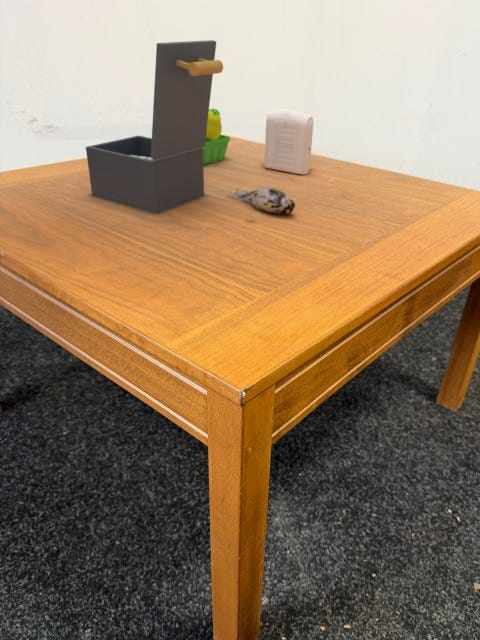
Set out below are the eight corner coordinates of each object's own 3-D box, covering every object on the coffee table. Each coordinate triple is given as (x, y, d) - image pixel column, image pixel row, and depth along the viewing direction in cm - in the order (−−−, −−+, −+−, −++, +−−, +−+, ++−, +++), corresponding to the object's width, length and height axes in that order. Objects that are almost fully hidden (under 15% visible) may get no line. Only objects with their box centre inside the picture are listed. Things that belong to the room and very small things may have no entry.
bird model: (261, 240, 92) (251, 224, 89) (232, 199, 102) (222, 183, 98) (301, 212, 92) (292, 195, 89) (268, 173, 101) (259, 157, 98)
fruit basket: (207, 153, 129) (206, 101, 123) (236, 160, 124) (236, 107, 118) (171, 162, 121) (168, 107, 115) (200, 170, 117) (199, 113, 111)
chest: (92, 197, 99) (85, 146, 94) (142, 182, 108) (138, 135, 103) (156, 216, 92) (152, 162, 87) (204, 198, 100) (203, 148, 96)
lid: (156, 42, 77) (184, 52, 75) (212, 40, 86) (238, 48, 84) (150, 158, 87) (174, 169, 85) (201, 145, 96) (224, 155, 94)
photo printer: (312, 171, 118) (317, 110, 112) (304, 176, 115) (308, 113, 109) (270, 164, 122) (272, 104, 116) (261, 168, 119) (263, 107, 112)
